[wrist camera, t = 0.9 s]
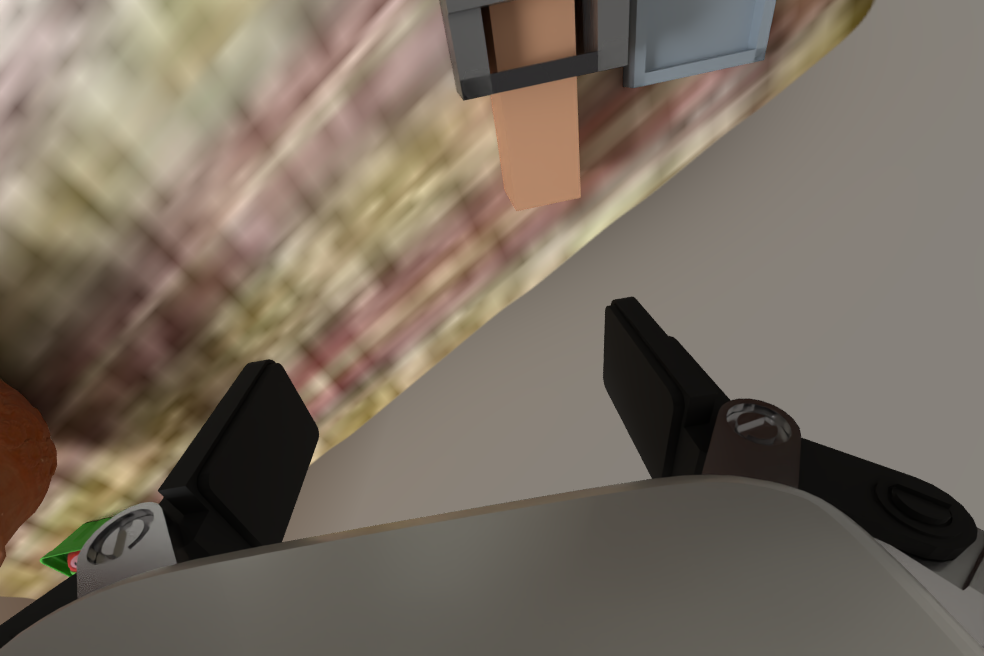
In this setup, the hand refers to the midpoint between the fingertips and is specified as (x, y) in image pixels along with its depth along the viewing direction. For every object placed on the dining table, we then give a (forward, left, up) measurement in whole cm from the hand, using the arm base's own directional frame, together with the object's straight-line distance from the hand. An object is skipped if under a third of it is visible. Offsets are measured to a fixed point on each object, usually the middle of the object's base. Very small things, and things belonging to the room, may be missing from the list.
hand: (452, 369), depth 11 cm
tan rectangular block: (-4, +8, -26) cm, 27 cm away
